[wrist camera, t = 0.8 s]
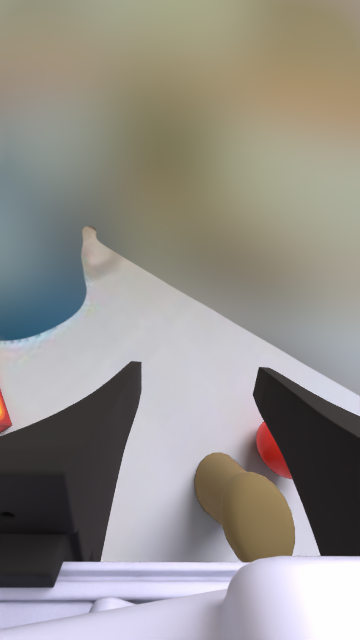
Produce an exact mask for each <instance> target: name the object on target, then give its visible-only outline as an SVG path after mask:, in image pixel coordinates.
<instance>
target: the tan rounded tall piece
mask: <svg viewBox="0 0 360 640" xmlns="http://www.w3.org/2000/svg"><path fill="white" fill-rule="evenodd" d="M195 491H196V495H197V498H198V501H199V503H200V505H201V506H202V508H203V509H204V511H206V512H207V513H208V514H209V515H210V516H211V517H212V518H214V519H215V520H216V521H217V522H218V523H219V524H221V525H222V527H223V530H224V533H225V536H226V539H227V541H228V543H229V544H230V546H231V548H232V549H233V551H234V553H235V554H236V556H237V557H238V558H239V559H240V560H241V561H242V562H243V563H251V562H253V561H255V560H257V559H262V558H269V557H276V556H292V554H293V549H294V545H295V527H294V522H293V518H292V514H291V510H290V508H289V506H288V504H287V501H286V499H285V497H284V496H283V495H282V493H281V492H280V491H279V489H278V488H277V487H276V486H275V485H274V483H272V482H271V481H270V480H268V479H267V478H266V477H265V476H262V475H260V474H257V473H254V472H246V471H245V470H244V469H243V468H242V467H241V466H240V465H239V464H238V463H237V462H236V461H234V460H233V459H232V458H231V457H229V456H228V455H226V454H223V453H212V454H210V455H208V456H206V457H205V458H204V459H203V460H202V461H201V462H200V464H199V466H198V468H197V471H196V476H195Z"/></svg>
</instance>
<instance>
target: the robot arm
mask: <svg viewBox="0 0 360 640" xmlns="http://www.w3.org/2000/svg"><path fill="white" fill-rule="evenodd" d="M140 395H141V362H135V361H131V362H130V363H129V364H127V365H126V366H125V367H124V368H123V369H122V370H121V371H120V372H119V373H117V374H116V375H115V376H114V377H113V378H112V379H110V380H109V381H108V382H107V383H105V384H104V385H103V386H101V387H100V388H99V389H97V390H96V391H94V392H93V393H91V394H90V395H88V396H87V397H85V398H83V399H82V400H80V401H79V402H77V403H75V404H73V405H71V406H69V407H67V408H66V409H64V410H62V411H60V412H58V413H56V414H54V415H52V416H50V417H47V418H45V419H43V420H41V421H38V422H36V423H34V424H31V425H29V426H27V427H24V428H21V429H19V430H16V431H13V432H11V433H8V434H5V435H3V436H0V640H360V416H358V415H356V414H353V413H351V412H349V411H347V410H345V409H343V408H341V407H338V406H336V405H334V404H332V403H330V402H328V401H326V400H324V399H323V398H321V397H319V396H317V395H315V394H314V393H312V392H310V391H308V390H306V389H305V388H303V387H301V386H300V385H298V384H296V383H295V382H293V381H291V380H290V379H288V378H286V377H285V376H283V375H281V374H280V373H278V372H276V371H274V370H273V369H271V368H266V367H259V370H258V374H257V378H256V383H255V387H254V392H253V397H254V399H255V402H256V405H257V407H258V410H259V412H260V414H261V416H262V418H263V420H264V422H265V423H266V425H267V427H268V429H269V431H270V433H271V435H272V436H273V438H274V440H275V442H276V444H277V446H278V448H279V450H280V452H281V454H282V456H283V458H284V460H285V462H286V465H287V467H288V469H289V472H290V474H291V476H292V479H293V481H294V484H295V486H296V489H297V491H298V494H299V496H300V499H301V501H302V504H303V507H304V509H305V512H306V515H307V518H308V520H309V523H310V526H311V528H312V531H313V534H314V537H315V540H316V543H317V546H318V549H319V552H320V555H321V556H276V557H269V558H262V559H257V560H255V561H253V562H251V563H239V562H100V561H101V556H102V551H103V546H104V541H105V535H106V530H107V526H108V521H109V516H110V511H111V506H112V502H113V497H114V492H115V488H116V483H117V479H118V474H119V470H120V465H121V461H122V457H123V453H124V449H125V446H126V442H127V439H128V436H129V433H130V430H131V427H132V424H133V421H134V418H135V415H136V412H137V408H138V405H139V400H140Z"/></svg>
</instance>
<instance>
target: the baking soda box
mask: <svg viewBox="0 0 360 640" xmlns="http://www.w3.org/2000/svg"><path fill="white" fill-rule="evenodd" d="M10 426H12V423H11V420H10V417H9V414H8V411H7V408H6V405H5V402H4V399H3V396H2V393H1V390H0V432H2V431H4V430H5V429H7V428H8V427H10Z"/></svg>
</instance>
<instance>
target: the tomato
mask: <svg viewBox="0 0 360 640" xmlns="http://www.w3.org/2000/svg"><path fill="white" fill-rule="evenodd" d="M256 443H257V448H258V452H259V454H260V456H261V458H262V460H263V461H264V462H265V464H266V465H267V466H268V467H269V468H270V469H271V470H272V471H273V472H275V473H276V474H278V475H280V476H282V477H285V478H289V479H292V476H291V474H290V472H289V469H288V467H287V465H286V462H285V460H284V458H283V456H282V454H281V452H280V450H279V448H278V446H277V444H276V442H275V440H274V438H273V436H272V435H271V433H270V431H269V429H268V427H267V425H266V423H265V422H263V423H262V424H261V425H260V427H259V429H258V431H257V436H256Z"/></svg>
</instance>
